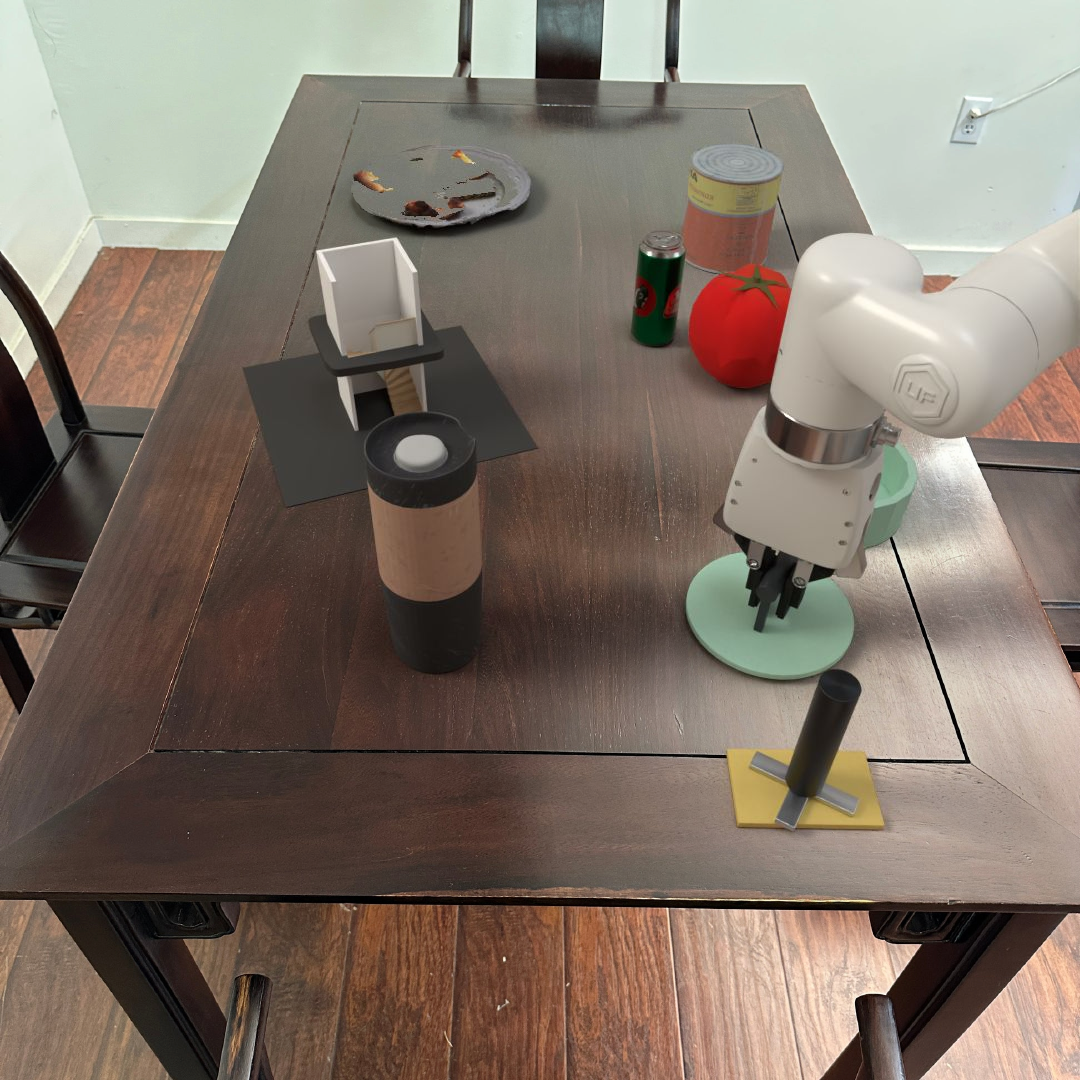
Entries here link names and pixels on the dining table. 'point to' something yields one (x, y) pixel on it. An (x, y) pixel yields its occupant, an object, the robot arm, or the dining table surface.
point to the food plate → (474, 203)
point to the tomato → (740, 325)
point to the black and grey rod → (816, 750)
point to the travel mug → (427, 537)
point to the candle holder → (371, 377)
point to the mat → (765, 796)
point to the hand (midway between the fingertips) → (771, 600)
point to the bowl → (892, 494)
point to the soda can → (658, 287)
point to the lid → (768, 620)
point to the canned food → (730, 206)
